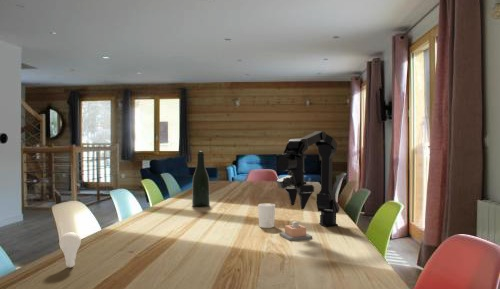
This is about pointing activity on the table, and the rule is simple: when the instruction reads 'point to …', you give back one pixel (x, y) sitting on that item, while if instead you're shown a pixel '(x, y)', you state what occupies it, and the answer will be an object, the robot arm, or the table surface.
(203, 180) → the dark green wine bottle
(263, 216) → the white cup
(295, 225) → the post plate
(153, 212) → the table surface
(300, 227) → the ring
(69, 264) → the lightbulb
